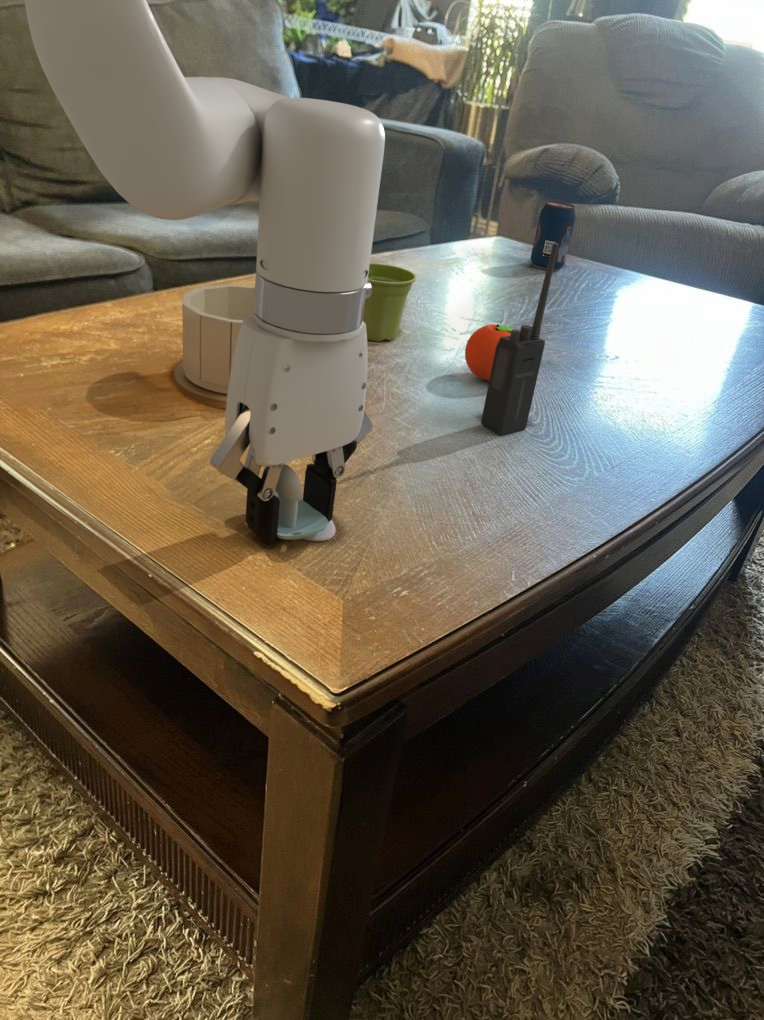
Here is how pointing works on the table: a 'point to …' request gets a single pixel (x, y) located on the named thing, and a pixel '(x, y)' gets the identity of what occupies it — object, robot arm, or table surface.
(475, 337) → the clementine
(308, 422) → the robot arm
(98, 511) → the table surface
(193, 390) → the disc
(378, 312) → the plant pot
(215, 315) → the pot
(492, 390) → the walkie-talkie
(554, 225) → the soda can
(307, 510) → the pacifier
